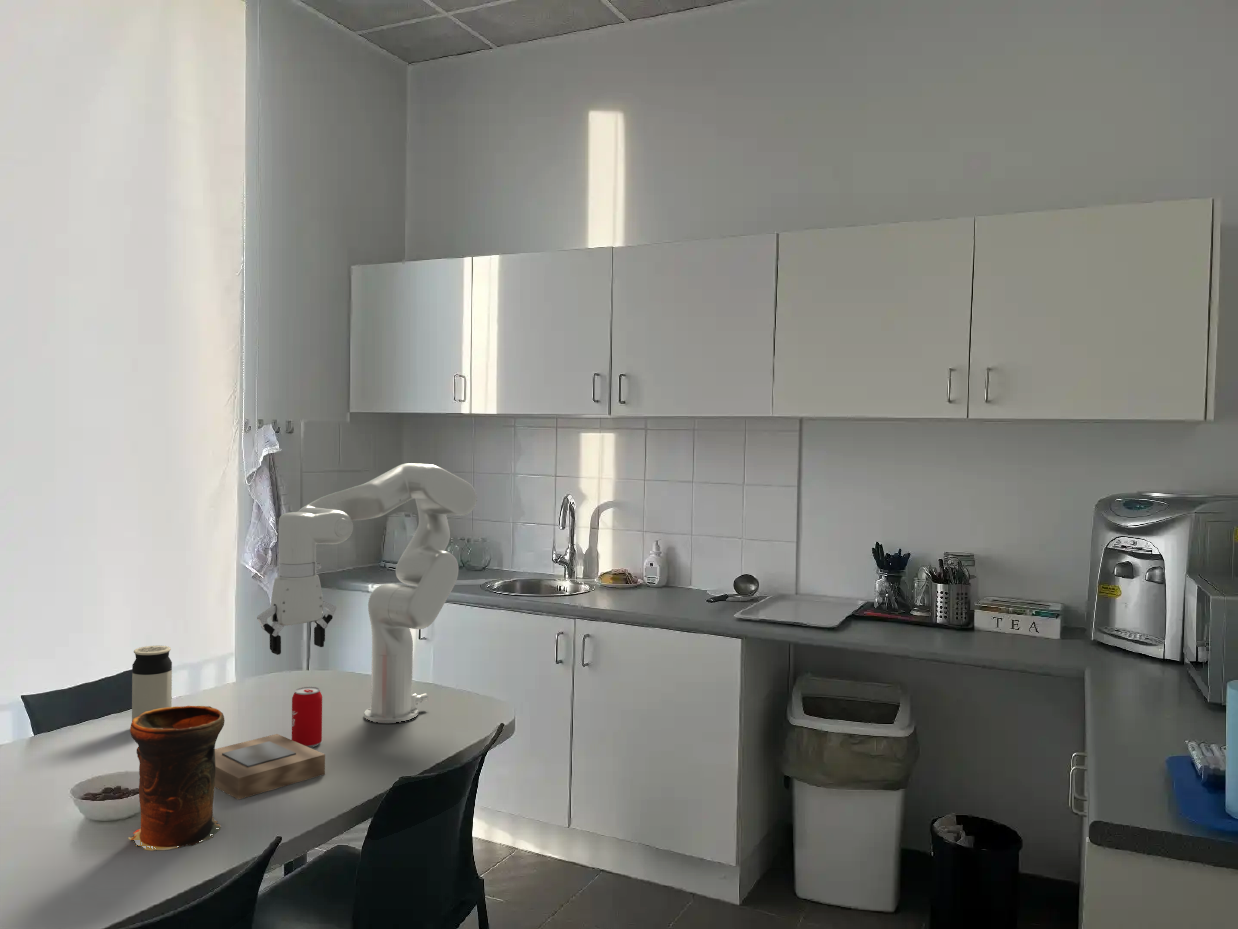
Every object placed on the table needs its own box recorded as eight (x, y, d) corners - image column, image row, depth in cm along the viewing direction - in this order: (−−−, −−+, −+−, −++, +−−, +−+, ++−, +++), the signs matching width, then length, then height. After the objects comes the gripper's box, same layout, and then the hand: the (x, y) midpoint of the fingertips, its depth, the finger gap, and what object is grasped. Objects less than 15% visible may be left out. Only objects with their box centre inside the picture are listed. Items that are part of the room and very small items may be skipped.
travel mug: (170, 732, 211) (170, 652, 210) (130, 735, 208) (130, 654, 207) (172, 721, 218) (173, 644, 218) (133, 724, 216) (134, 646, 215)
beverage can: (311, 738, 209) (312, 684, 209) (327, 744, 206) (328, 689, 205) (285, 745, 205) (286, 690, 204) (301, 751, 201) (302, 695, 200)
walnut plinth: (276, 752, 200) (277, 732, 200) (324, 774, 188) (325, 752, 188) (192, 775, 186) (192, 753, 186) (238, 799, 174) (238, 776, 174)
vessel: (148, 814, 167) (152, 702, 166) (232, 816, 168) (236, 704, 167) (110, 851, 152) (114, 728, 151) (202, 853, 153) (206, 731, 152)
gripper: (326, 564, 211) (326, 640, 212) (250, 572, 199) (250, 653, 200) (343, 568, 206) (343, 646, 206) (265, 577, 193) (266, 660, 194)
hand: (297, 649), depth 203 cm, fingers open, 9 cm apart
